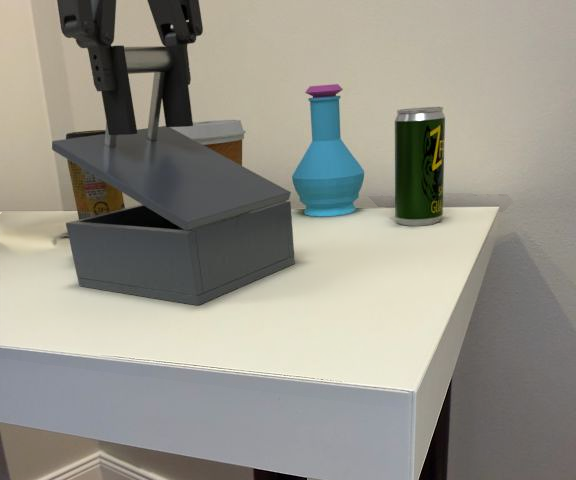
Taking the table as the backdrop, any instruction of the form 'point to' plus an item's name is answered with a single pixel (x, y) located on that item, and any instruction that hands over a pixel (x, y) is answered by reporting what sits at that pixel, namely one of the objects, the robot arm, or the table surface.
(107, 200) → the condiment
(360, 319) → the table surface
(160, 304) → the table surface
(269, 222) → the gray storage case
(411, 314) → the table surface
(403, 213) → the beer can
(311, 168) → the perfume bottle
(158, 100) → the lid
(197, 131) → the disposable coffee cup
